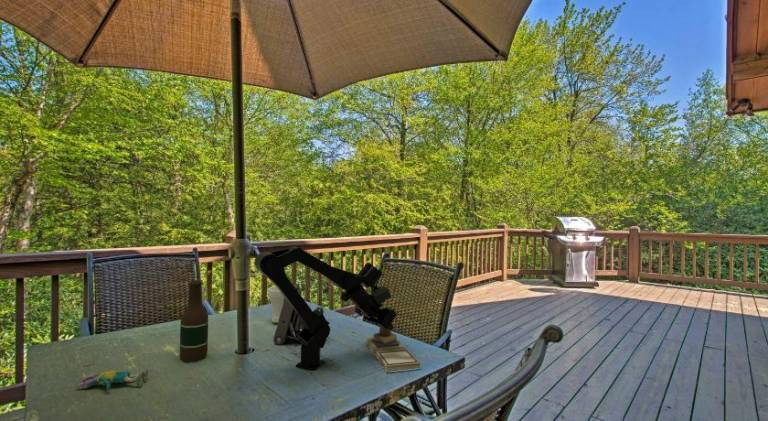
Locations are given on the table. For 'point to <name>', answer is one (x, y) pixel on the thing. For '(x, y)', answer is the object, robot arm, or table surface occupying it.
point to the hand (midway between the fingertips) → (389, 327)
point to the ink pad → (386, 344)
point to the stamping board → (394, 357)
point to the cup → (275, 303)
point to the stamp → (385, 336)
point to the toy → (114, 378)
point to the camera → (289, 322)
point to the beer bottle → (194, 326)
